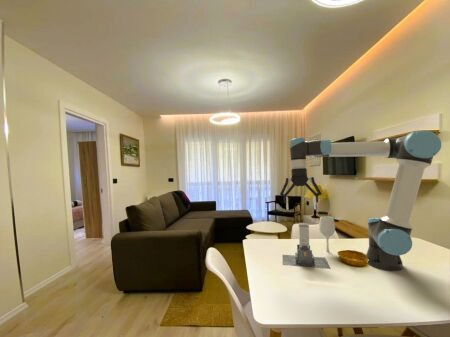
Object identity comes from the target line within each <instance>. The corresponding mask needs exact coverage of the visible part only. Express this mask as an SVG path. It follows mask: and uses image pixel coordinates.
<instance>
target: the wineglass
mask: <svg viewBox="0 0 450 337" xmlns="http://www.w3.org/2000/svg"><path fill="white" fill-rule="evenodd" d="M318 225H319V226H318V227H319V232H320V233H321V234H322V236H324V237H325V239H326V241H325V242H326V250H324V251H323V253H325V254H333V253H332V251H330V247H329V246H330V244H329V238H331V237H332V236H333V235H334V234H335V231H336V224H335V219H334V216H328V215H321V216H320V218H319V223H318Z"/></svg>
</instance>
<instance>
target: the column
mask: <svg viewBox="0 0 450 337" xmlns="http://www.w3.org/2000/svg"><path fill="white" fill-rule="evenodd" d="M309 228H310V226H309V223H307V222H298V241H299V242H298V244H299V249H302V246H303V247H308V250H309V245H310V229H309Z"/></svg>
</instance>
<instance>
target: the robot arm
mask: <svg viewBox="0 0 450 337" xmlns="http://www.w3.org/2000/svg"><path fill="white" fill-rule="evenodd" d="M441 149H442V140H441V138H440V137H439V136H438V134H436V133H434V132H433V131H430V130H423V129H422V130H416V131H412V132H410V133H408V134H407V135H403V136H400V137H395V138H386V139H385V140H380V141H379V140H375V141H347V142H332V141H331V139H324V138H323V139H317V140H310V141H309V140H308V141H307V140H306V138H304V137H295V138H292V139H290V141H289V152H290V153H289V154H290V155H289V156H290V167H291V170H290V171H291V172H290V173H291V178H290V177H289V178H288V177H285V180H284V181H285V182H284V184H283V186H282V189H281V191H280V194H279V196H280V197H283V204H286V205H285V207H286V211H289V197H288V195H289V194H290V193H291V191H292V190H293V188H295V187H304V186H305V188H307V189H308V190H309V191H310V192H311V194H313V195H312V196H313V197H312V201H313V203H312V204H313V210H315V211H316V210H317V203H319V196H321V195H323V194H322V191H321V190H320V188H319V186H318V184H317V183H316V181H315V177H314V176H311V177H308V171H307V157H311V156H313V157H315V158H326V157H327V158H328V157H332V158H333V157H335V158H337V157H344V158H345V157H384V158H385V159H396V162H397V163H398V167H397V171H396V175H395V179H394V182H393V186H392V189H391V193H390V195H389V196H390V197H389V199H388V204H387V206H386V210H385V214H384V215H383V216H381V217H369V218H368V220H367V228H368V248H367V252H366V254H365V257H366V258H368V259H369V261H368V263H367V264H368V265H370V266H372V267H374V268H377V269H381V270H384V271H385V270H387V271H401V270H402V269H404V265H403V264H404V263H403V260H402V258H401V256H402V255H407V253H409V252H410V251H411V250H412V247H413V240H412V237H411V234H412V231H413V226H412V225H411V224H410V221H411V217H412V214H413V210H414V207H415V206H414V205H415V203H416V200H417V197H418V193H419V189H420V185H421V182H422V179H423V175H424V172H425V169H426V168H428V167H430V166H431V165H432V162H433V159H434V157H435V156H436V155H437V154H439V152H440V151H441ZM290 181H291V183H292V184H291V185H290V187H289V188H288V189H287V187H288V184H289V183H290ZM308 181H309V182H311V184H312V186H313V187H314V189H315V190H314V189H313V188H312V187H311V186H310V185H309V184H308V183H307V182H308ZM286 189H287V190H286ZM366 258H365V259H366Z"/></svg>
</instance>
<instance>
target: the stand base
mask: <svg viewBox="0 0 450 337" xmlns="http://www.w3.org/2000/svg"><path fill="white" fill-rule="evenodd" d="M296 246H297V248H296V249H297V250H296V252H295V253H294V255H292V254H282V266H288V267H289V266H290V267H303V268H314V269H328V270H331V267H330V265H329V263H328V261H327V258H326V257H322V256H321V257H319V256H314V254H313V250H312V249H311V245H310V244H309V250H308V247H303V246H302V249H299V243H298V244H297V245H296Z"/></svg>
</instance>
